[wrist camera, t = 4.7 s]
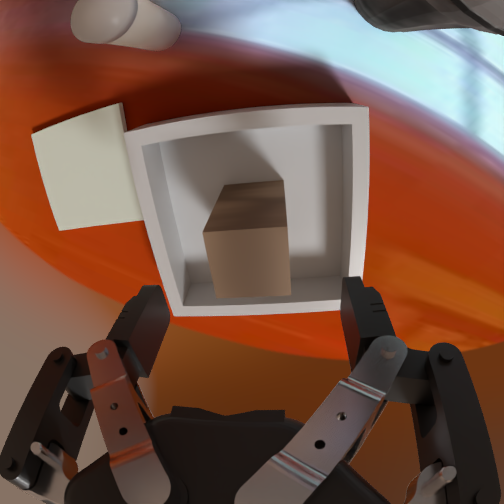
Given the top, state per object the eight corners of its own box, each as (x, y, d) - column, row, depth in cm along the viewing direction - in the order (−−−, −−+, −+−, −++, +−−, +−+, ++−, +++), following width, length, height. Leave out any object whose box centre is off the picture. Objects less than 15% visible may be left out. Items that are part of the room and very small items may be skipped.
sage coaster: (62, 227, 24) (59, 230, 23) (35, 132, 19) (31, 134, 19) (147, 216, 23) (144, 219, 22) (122, 102, 18) (118, 103, 18)
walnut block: (232, 236, 22) (216, 298, 16) (224, 185, 20) (202, 232, 14) (287, 233, 22) (291, 295, 16) (283, 180, 20) (287, 226, 14)
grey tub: (184, 288, 26) (174, 316, 23) (145, 124, 19) (123, 133, 16) (349, 280, 25) (358, 308, 22) (353, 102, 17) (368, 106, 14)
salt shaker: (141, 56, 16) (72, 52, 10) (136, 18, 15) (69, -2, 8) (184, 46, 16) (131, 29, 9) (179, 6, 15) (126, -28, 8)
